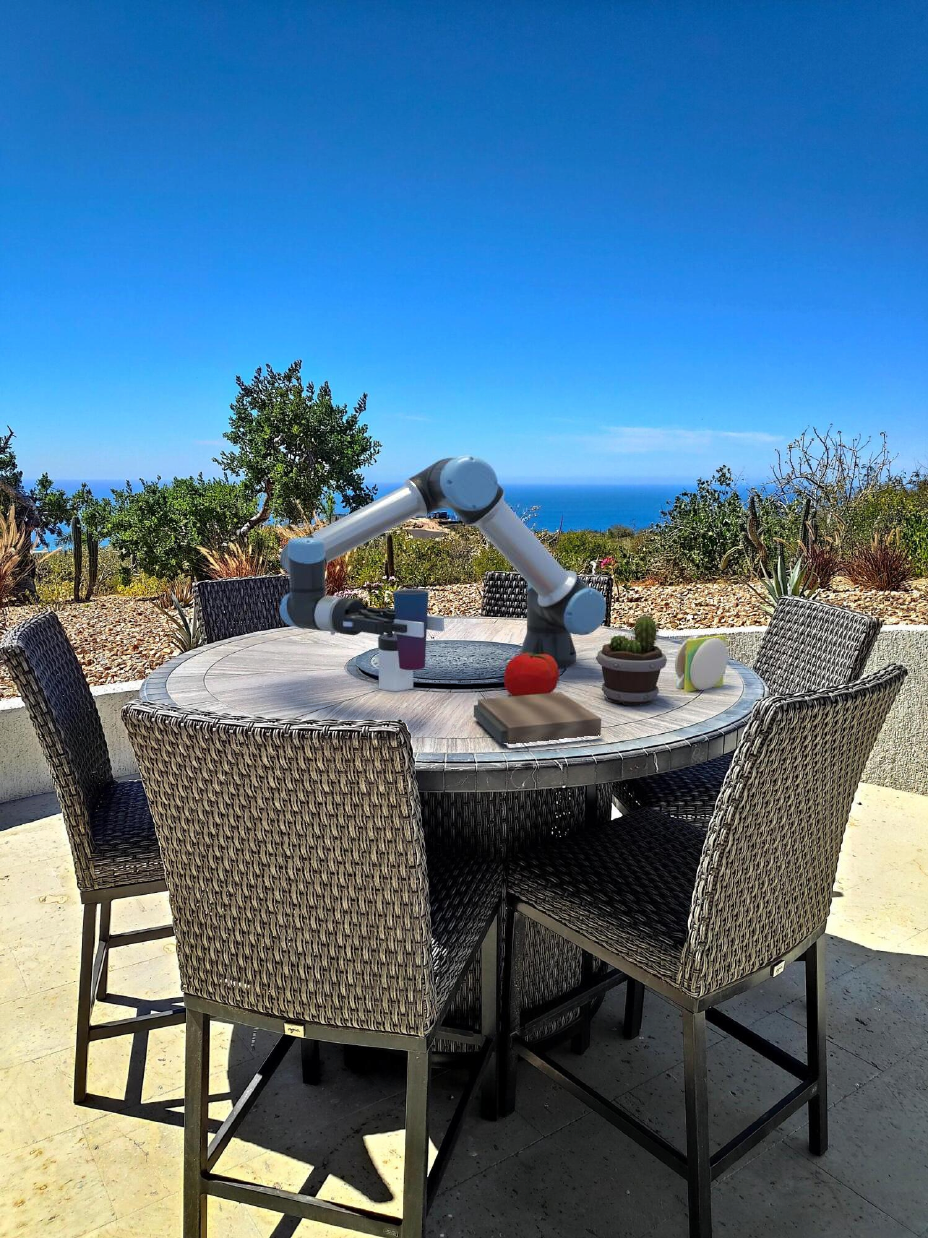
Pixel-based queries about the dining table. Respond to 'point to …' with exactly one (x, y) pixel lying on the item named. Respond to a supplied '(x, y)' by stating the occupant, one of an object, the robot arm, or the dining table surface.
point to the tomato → (531, 674)
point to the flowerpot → (632, 665)
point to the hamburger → (701, 662)
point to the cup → (414, 609)
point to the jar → (392, 666)
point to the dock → (536, 718)
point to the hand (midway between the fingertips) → (432, 627)
